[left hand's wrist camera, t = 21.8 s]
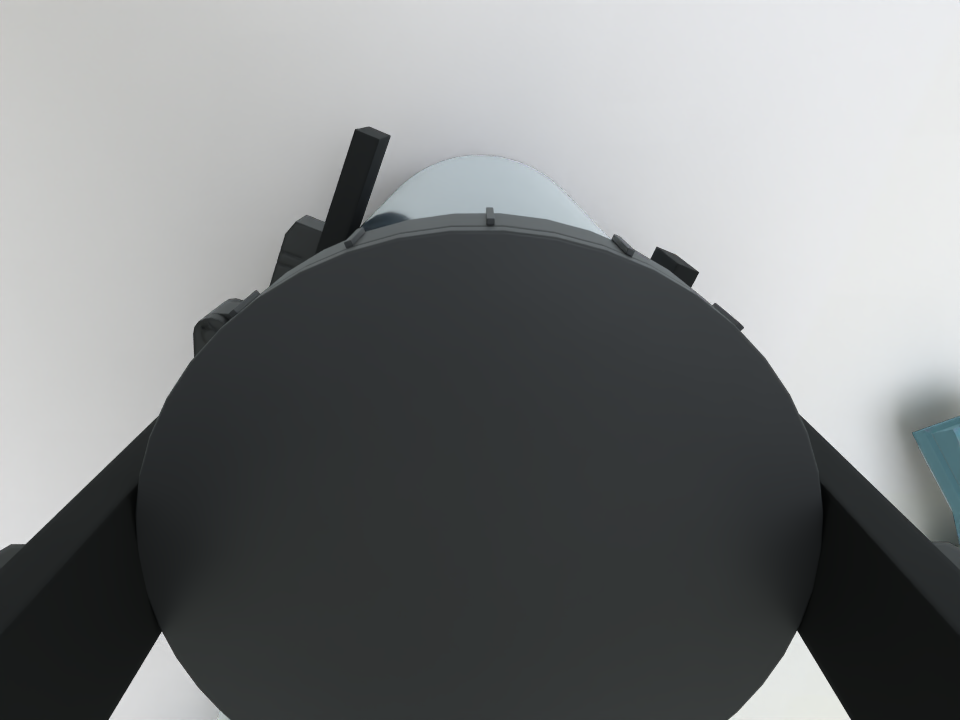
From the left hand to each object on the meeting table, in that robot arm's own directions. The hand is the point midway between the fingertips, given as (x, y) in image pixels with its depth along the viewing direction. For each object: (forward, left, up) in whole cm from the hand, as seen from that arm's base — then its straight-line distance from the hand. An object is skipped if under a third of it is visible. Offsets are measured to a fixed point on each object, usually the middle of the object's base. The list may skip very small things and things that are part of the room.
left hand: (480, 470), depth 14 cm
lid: (0, 0, +3) cm, 3 cm away
